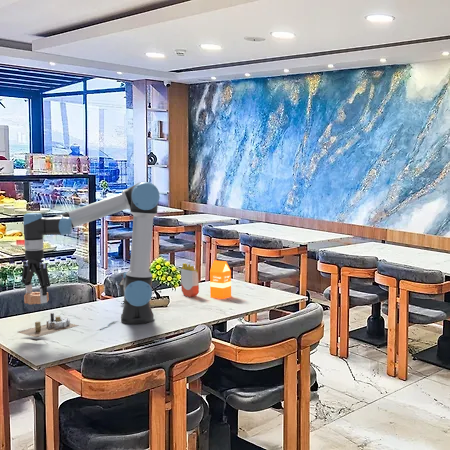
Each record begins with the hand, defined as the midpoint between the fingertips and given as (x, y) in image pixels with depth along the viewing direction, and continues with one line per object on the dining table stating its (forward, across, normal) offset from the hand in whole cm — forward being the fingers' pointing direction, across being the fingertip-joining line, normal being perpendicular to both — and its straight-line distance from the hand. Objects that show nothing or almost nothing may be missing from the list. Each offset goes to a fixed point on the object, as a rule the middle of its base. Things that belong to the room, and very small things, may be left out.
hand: (36, 301), depth 246 cm
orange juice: (+15, +20, +102) cm, 105 cm away
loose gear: (0, 0, 0) cm, 0 cm away
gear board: (+15, 0, +5) cm, 16 cm away
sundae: (+15, -14, +63) cm, 66 cm away
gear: (+13, 0, +10) cm, 17 cm away
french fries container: (+15, +4, +95) cm, 97 cm away
